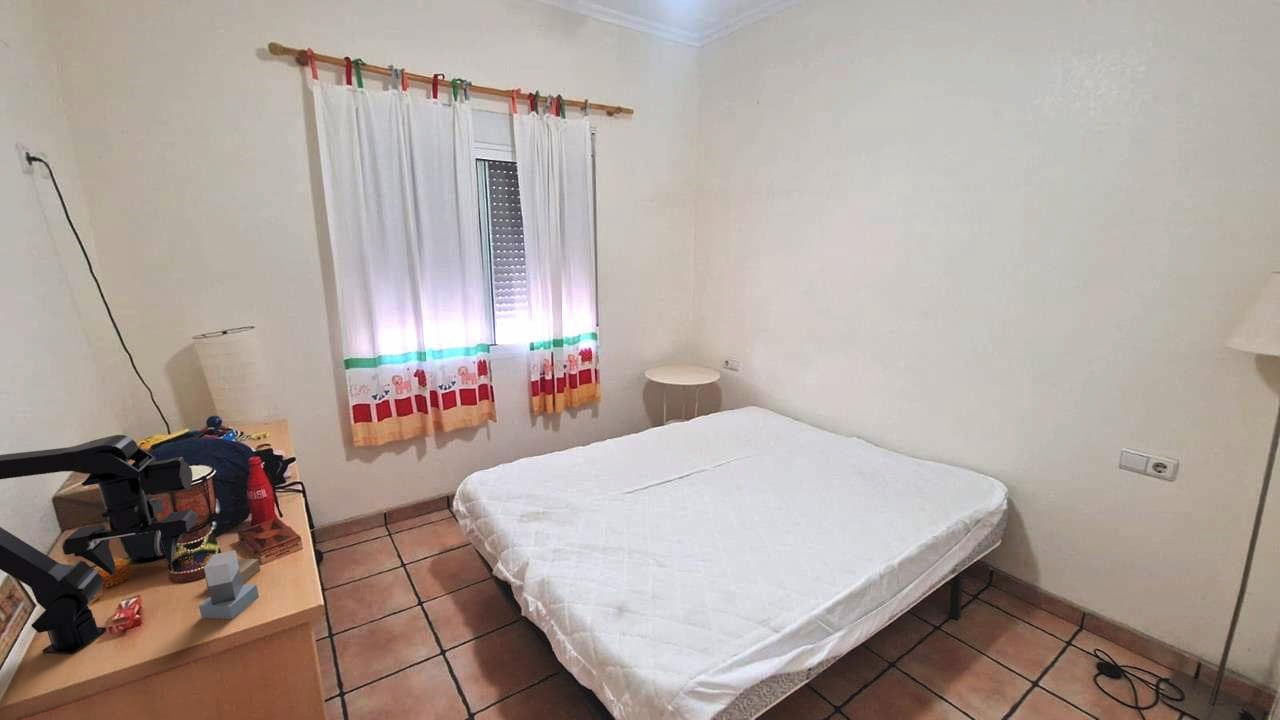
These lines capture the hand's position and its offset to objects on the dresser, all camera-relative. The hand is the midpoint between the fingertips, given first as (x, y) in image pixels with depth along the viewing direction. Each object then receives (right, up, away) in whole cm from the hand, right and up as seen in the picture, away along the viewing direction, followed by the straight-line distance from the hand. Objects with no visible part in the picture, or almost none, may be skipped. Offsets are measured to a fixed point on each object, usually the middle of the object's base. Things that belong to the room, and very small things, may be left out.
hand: (142, 567), depth 104 cm
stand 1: (+6, -9, +16) cm, 20 cm away
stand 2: (+12, -12, +7) cm, 18 cm away
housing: (+12, -9, +7) cm, 16 cm away
